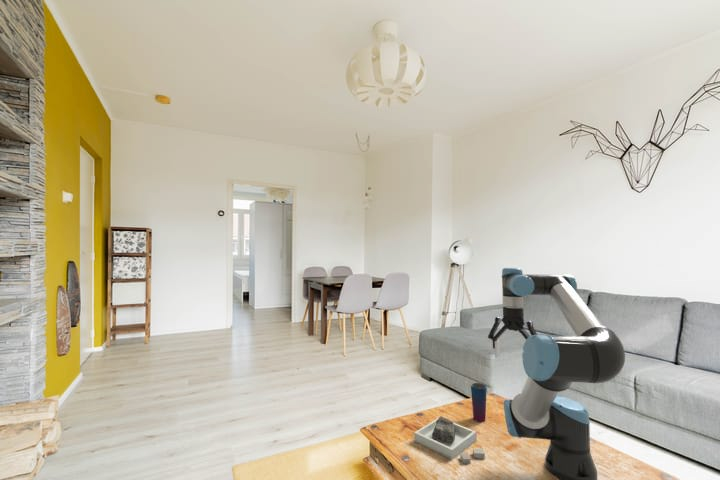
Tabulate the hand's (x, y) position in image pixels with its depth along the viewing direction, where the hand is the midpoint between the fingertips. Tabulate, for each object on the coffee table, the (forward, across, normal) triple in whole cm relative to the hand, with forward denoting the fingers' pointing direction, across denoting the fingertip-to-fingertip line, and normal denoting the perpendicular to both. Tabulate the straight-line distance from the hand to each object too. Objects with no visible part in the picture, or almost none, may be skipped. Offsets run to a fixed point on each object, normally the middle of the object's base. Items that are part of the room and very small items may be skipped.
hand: (514, 360), depth 135 cm
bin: (+32, +20, +19) cm, 42 cm away
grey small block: (+32, +6, +19) cm, 38 cm away
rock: (+31, +21, +18) cm, 42 cm away
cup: (+32, +19, -7) cm, 38 cm away
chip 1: (+32, +8, +25) cm, 41 cm away
